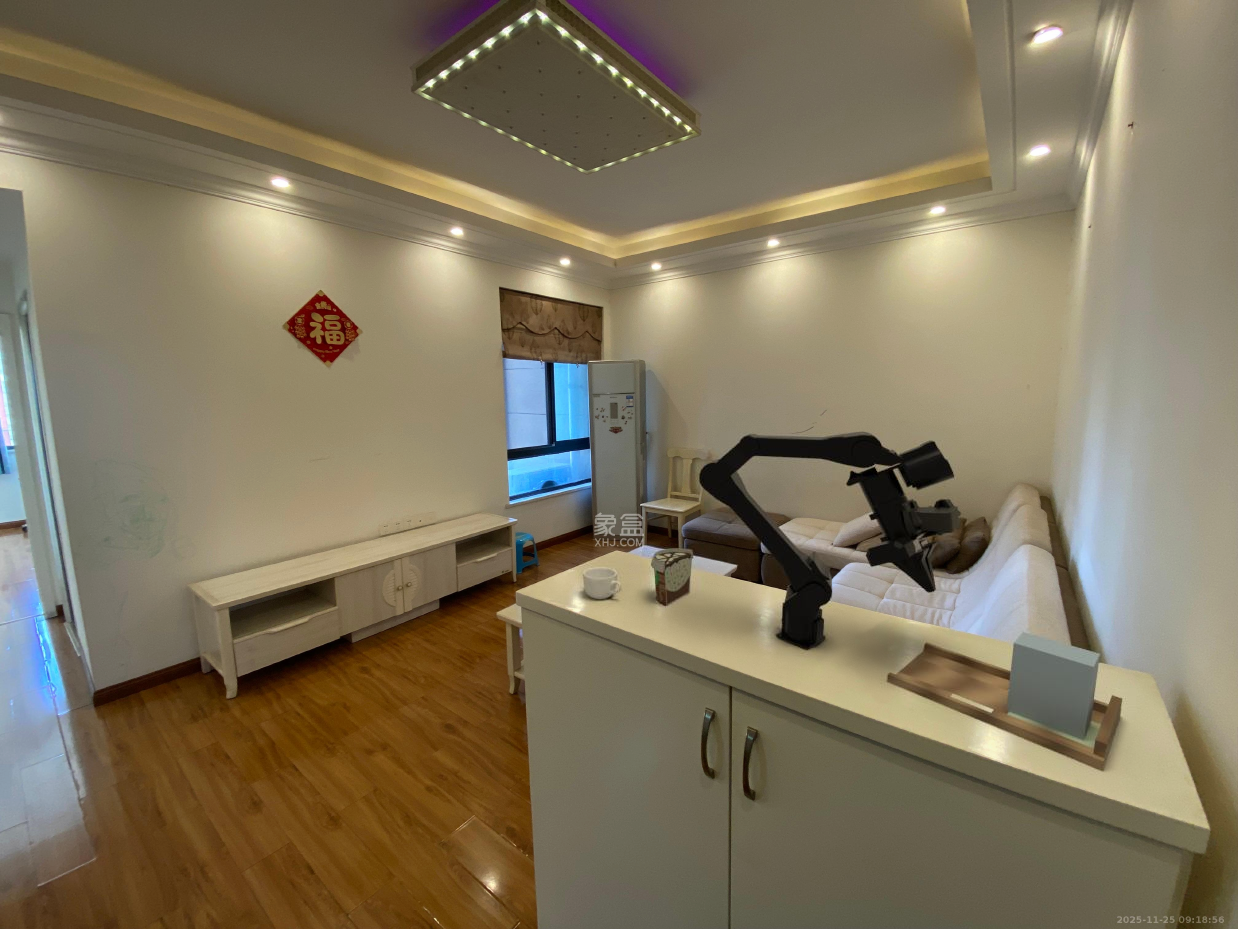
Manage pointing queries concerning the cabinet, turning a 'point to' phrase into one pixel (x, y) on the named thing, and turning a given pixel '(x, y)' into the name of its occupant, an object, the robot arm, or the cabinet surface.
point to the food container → (672, 574)
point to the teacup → (600, 582)
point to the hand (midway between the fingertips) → (932, 591)
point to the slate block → (1053, 684)
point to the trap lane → (1002, 702)
